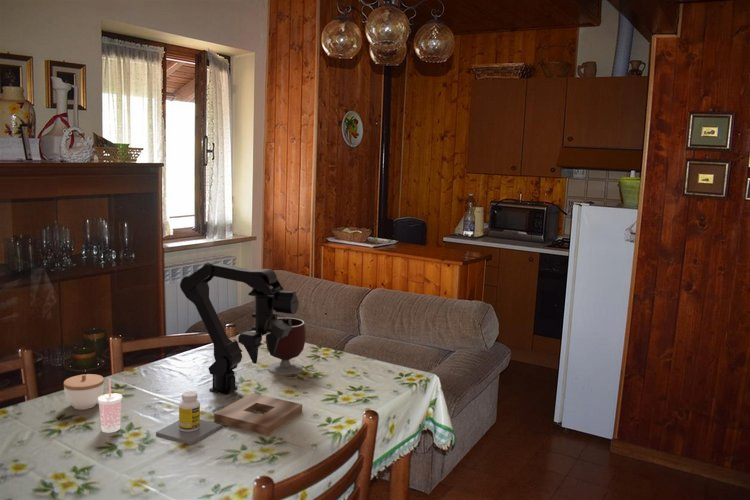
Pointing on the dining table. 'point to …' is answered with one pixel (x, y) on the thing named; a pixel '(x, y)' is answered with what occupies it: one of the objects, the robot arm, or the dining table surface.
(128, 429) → the dining table surface
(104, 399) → the beverage cup
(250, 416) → the holder block
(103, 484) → the dining table surface
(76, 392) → the lidded jar
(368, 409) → the dining table surface
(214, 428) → the pad
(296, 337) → the mate gourd
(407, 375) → the dining table surface
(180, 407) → the supplement bottle
